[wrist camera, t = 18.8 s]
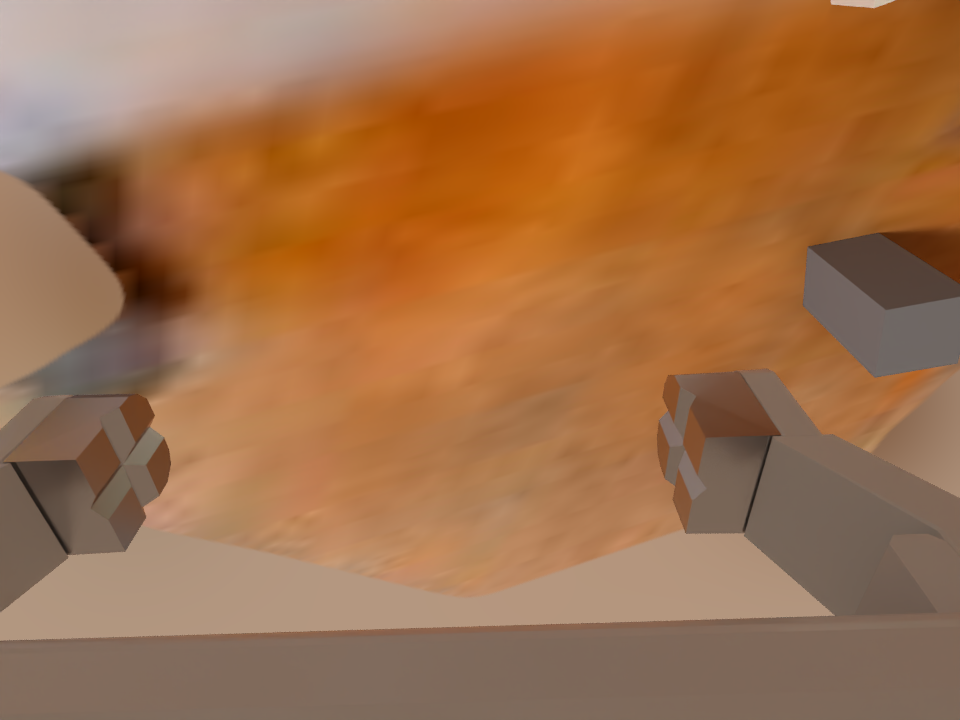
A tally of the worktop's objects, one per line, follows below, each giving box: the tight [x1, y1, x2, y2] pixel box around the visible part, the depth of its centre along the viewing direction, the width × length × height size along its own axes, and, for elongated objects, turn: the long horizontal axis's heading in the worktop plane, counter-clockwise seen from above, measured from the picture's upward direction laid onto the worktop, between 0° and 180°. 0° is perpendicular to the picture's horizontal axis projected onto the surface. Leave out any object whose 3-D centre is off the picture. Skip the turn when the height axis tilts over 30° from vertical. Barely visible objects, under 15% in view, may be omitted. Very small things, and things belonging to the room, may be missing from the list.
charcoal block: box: [803, 233, 960, 377], centre depth 41 cm, size 5×5×10 cm
